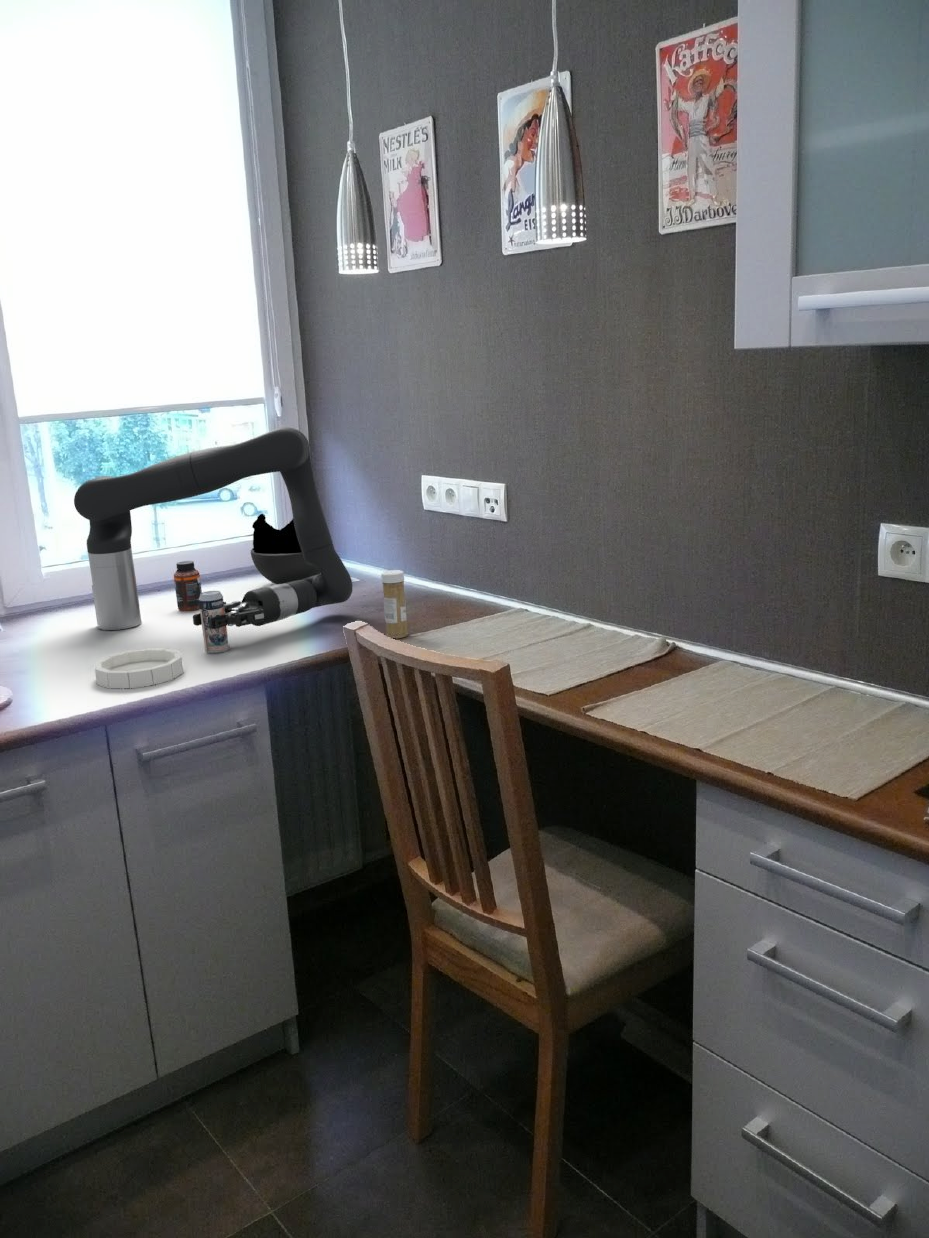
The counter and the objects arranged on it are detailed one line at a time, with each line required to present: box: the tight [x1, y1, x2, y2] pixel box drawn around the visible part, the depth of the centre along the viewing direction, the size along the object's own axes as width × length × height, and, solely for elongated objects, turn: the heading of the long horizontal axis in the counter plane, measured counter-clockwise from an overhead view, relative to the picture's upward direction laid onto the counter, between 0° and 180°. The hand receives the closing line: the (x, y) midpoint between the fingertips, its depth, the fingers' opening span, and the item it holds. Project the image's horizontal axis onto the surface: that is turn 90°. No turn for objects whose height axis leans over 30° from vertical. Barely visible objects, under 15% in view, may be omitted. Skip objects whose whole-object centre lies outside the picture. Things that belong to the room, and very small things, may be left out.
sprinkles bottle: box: [380, 569, 409, 640], centre depth 209 cm, size 5×5×13 cm
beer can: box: [199, 590, 230, 655], centre depth 206 cm, size 5×5×12 cm
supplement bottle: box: [173, 560, 203, 612], centre depth 243 cm, size 6×6×11 cm
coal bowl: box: [250, 513, 321, 585], centre depth 261 cm, size 20×20×19 cm
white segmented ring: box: [94, 648, 184, 690], centre depth 193 cm, size 15×15×3 cm
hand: (202, 622), depth 204 cm, fingers closed on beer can, 4 cm apart
